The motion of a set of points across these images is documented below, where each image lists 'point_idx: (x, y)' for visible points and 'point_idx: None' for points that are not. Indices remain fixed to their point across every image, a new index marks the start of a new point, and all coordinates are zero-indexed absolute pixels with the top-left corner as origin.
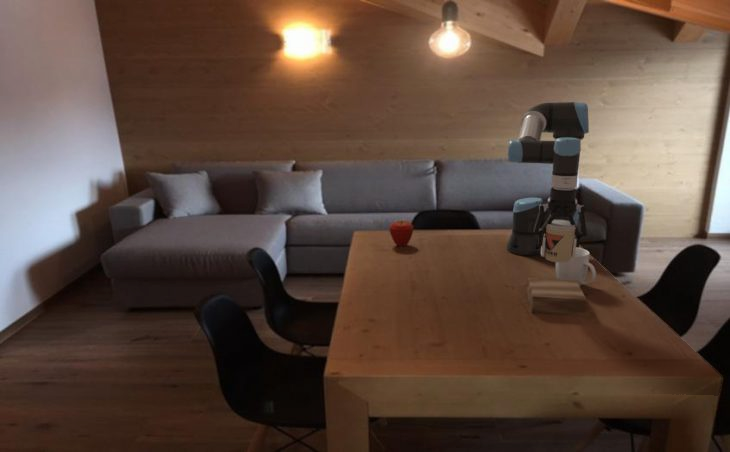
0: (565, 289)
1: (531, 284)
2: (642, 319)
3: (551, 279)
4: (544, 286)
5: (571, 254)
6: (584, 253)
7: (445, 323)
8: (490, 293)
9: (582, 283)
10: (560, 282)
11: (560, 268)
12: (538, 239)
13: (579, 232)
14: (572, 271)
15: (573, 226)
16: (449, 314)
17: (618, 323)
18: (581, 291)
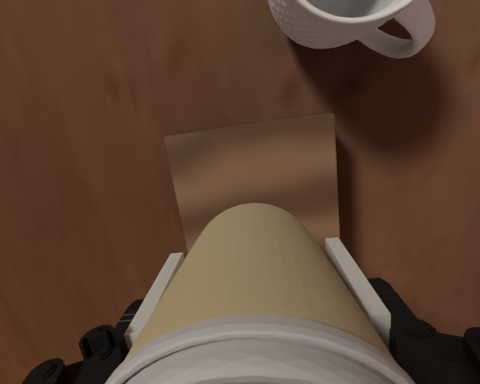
0: (287, 209)
1: (181, 196)
2: (469, 218)
3: (245, 129)
4: (222, 201)
5: (328, 259)
6: None
7: (39, 341)
8: (82, 160)
9: (358, 39)
10: (275, 150)
11: (282, 22)
12: (117, 330)
13: (449, 364)
14: (330, 45)
15: None
16: (31, 304)
17: (401, 255)
18: (336, 212)
